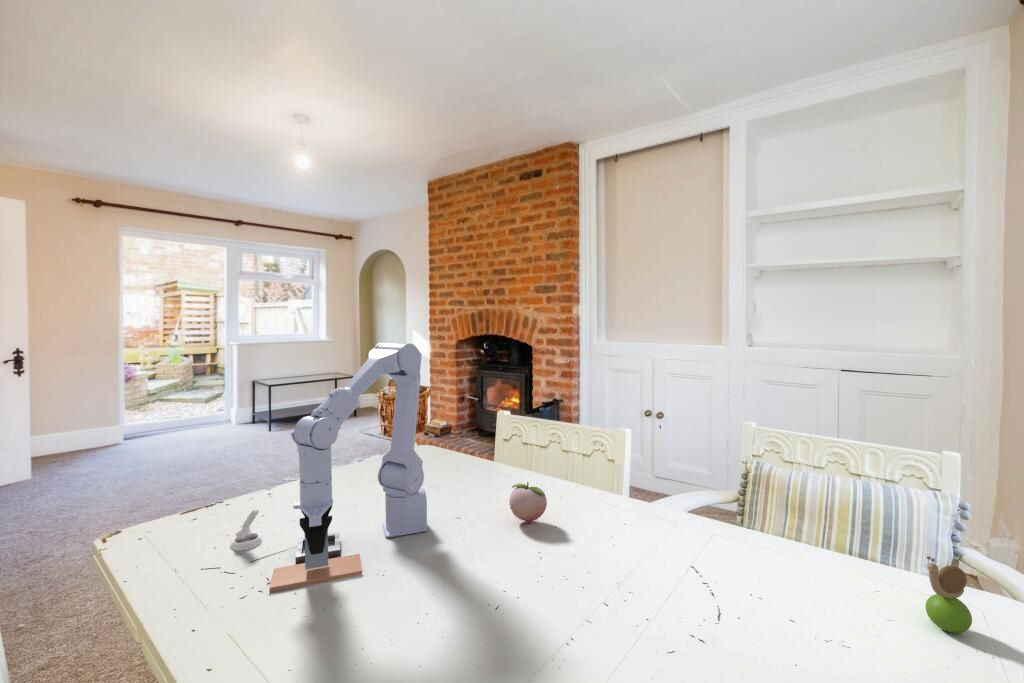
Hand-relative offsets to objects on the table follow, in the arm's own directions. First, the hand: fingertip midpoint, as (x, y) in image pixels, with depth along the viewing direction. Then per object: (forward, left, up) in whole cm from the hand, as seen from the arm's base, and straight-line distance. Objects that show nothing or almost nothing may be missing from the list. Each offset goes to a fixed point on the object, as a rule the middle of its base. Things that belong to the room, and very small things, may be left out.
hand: (317, 547), depth 90 cm
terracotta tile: (0, 0, -5) cm, 5 cm away
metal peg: (0, 0, -3) cm, 3 cm away
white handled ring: (+15, -19, -6) cm, 25 cm away
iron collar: (0, -9, -5) cm, 11 cm away
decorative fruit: (-47, -6, -5) cm, 48 cm away
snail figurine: (-94, +54, -5) cm, 109 cm away
